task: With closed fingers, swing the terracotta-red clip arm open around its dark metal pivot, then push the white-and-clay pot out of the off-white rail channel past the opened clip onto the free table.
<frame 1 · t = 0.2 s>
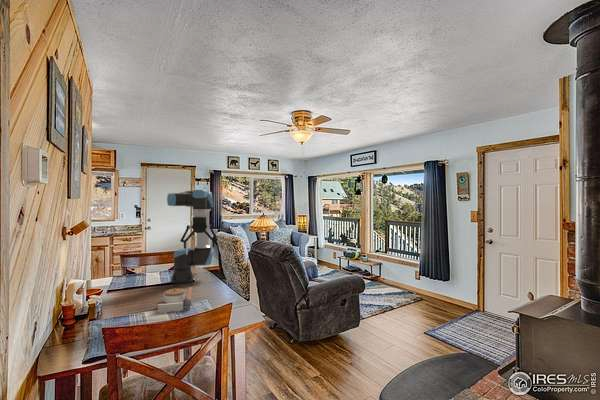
hand: (199, 253, 173), 27 cm above the table, fingers open, 13 cm apart
clip: (189, 295, 170), point 4 cm above the table, hinge at 0.0°
lidded jar: (174, 305, 166), on the table
socket channel: (174, 305, 166), on the table
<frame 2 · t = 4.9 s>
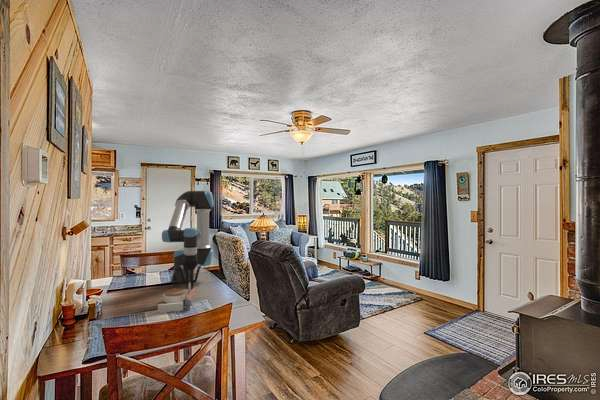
hand: (189, 294, 178), 2 cm above the table, fingers closed
clip: (190, 295, 170), point 4 cm above the table, hinge at 3.6°, touching gripper
everything else where it was.
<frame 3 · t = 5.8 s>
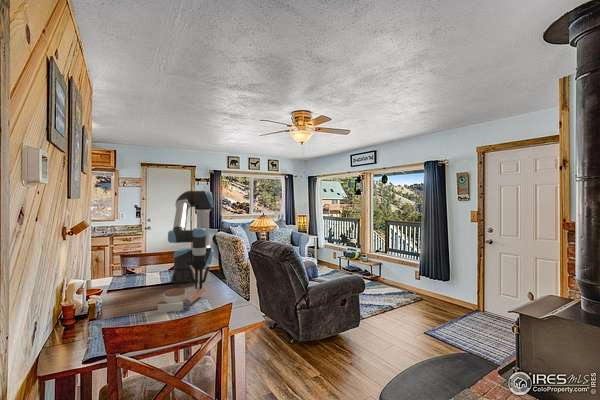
hand: (198, 294, 179), 2 cm above the table, fingers closed
clip: (196, 295, 171), point 4 cm above the table, hinge at 19.0°, touching gripper
everything else where it was.
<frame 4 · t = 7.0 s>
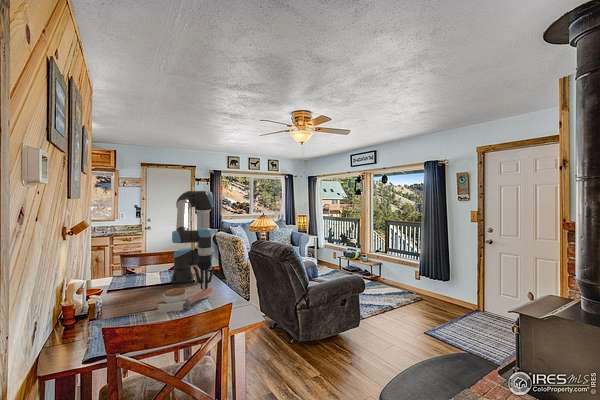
hand: (204, 294, 178), 2 cm above the table, fingers closed
clip: (199, 295, 170), point 4 cm above the table, hinge at 29.6°, touching gripper
everything else where it was.
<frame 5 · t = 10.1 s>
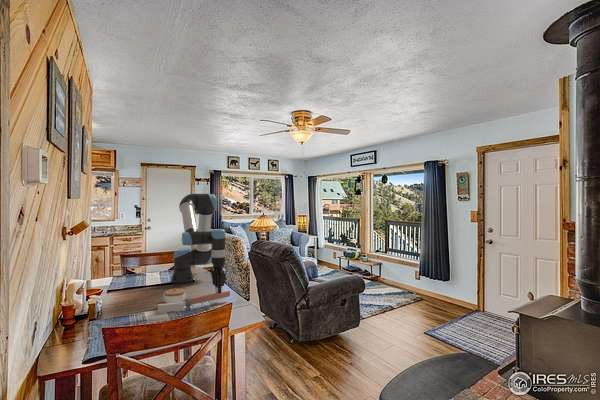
hand: (218, 297, 172), 2 cm above the table, fingers closed
clip: (208, 297, 167), point 4 cm above the table, hinge at 67.9°, touching gripper
everything else where it was.
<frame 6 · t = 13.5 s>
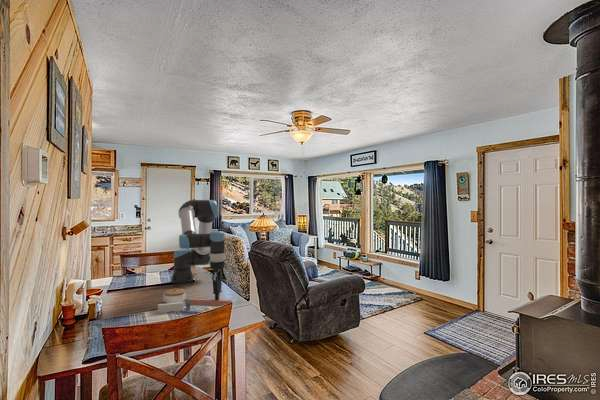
hand: (217, 305, 160), 2 cm above the table, fingers closed
clip: (208, 302, 159), point 4 cm above the table, hinge at 112.4°, touching gripper
everything else where it was.
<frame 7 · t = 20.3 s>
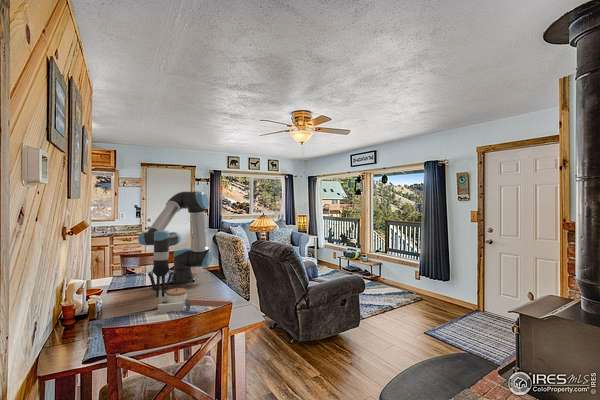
hand: (160, 302, 164), 2 cm above the table, fingers closed
clip: (208, 303, 158), point 4 cm above the table, hinge at 114.2°
lidded jar: (176, 305, 167), on the table, touching gripper
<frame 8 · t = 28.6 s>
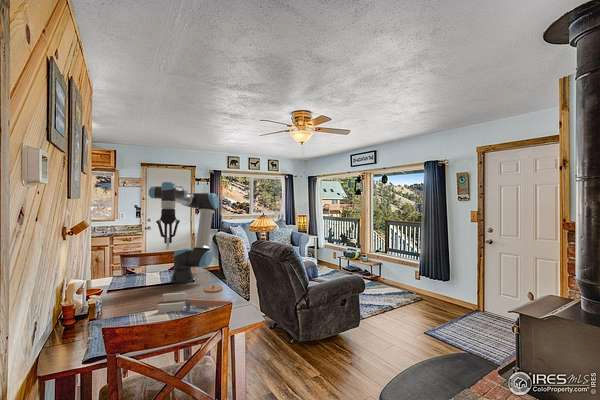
hand: (168, 248, 177), 29 cm above the table, fingers closed
lidded jar: (213, 302, 172), on the table
everything else where it was.
at the end: clip at +114° (first picture: +0°); lidded jar inside the target area (2.2 cm from its centre), on the table; lidded jar tilted 0° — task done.
